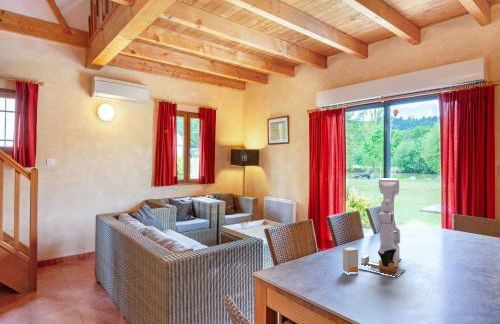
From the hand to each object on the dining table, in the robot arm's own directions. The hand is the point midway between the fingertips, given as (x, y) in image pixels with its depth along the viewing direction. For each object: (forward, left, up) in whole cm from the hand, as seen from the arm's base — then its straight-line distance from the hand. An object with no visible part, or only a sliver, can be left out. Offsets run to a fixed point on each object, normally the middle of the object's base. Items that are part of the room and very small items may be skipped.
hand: (387, 264), depth 145 cm
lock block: (0, 0, -2) cm, 2 cm away
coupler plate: (0, -3, -3) cm, 5 cm away
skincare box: (+14, -12, -3) cm, 19 cm away
